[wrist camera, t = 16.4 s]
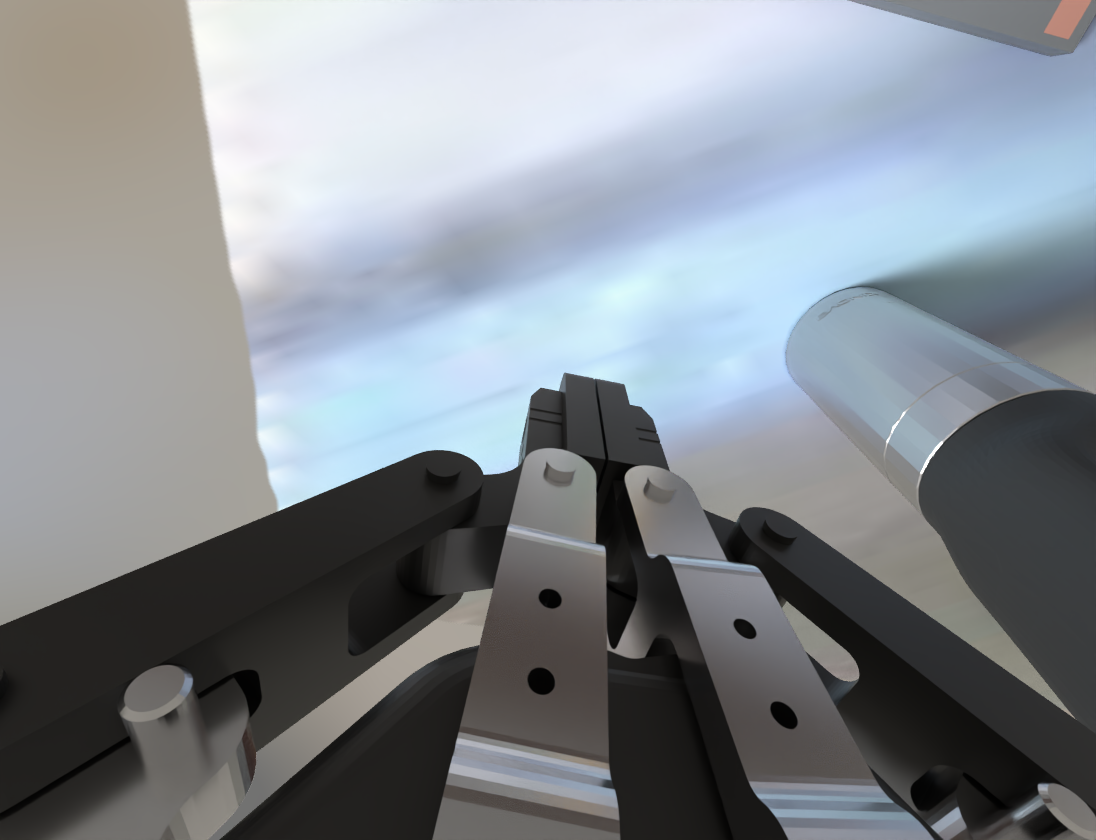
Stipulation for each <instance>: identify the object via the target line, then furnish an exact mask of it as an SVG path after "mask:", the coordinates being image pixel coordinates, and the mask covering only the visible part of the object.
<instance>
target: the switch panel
mask: <svg viewBox="0 0 1096 840" xmlns="http://www.w3.org/2000/svg"><path fill="white" fill-rule="evenodd" d="M849 1H853V2H856V3H860V4H863V5H867V6H871V7H874V8H878V9H881V10H885V11H889V12H892V13H896V14H899V15H903V16H907V17H910V18H914V19H917V20H921V21H925V22H928V23H932V24H935V25H939V26H943V27H946V28H950V29H954V30H957V31H961V32H964V33H968V34H972V35H975V36H979V37H982V38H986V39H990V40H993V41H997V42H1000V43H1004V44H1008V45H1011V46H1015V47H1018V48H1022V49H1026V50H1029V51H1033V52H1037V53H1040V54H1044V55H1047V56H1056V55H1063V54H1069V53H1073V51H1074V50H1075V48H1076V46H1077V45H1078V43H1079V41H1080V40H1081V38H1082V36H1083V35H1084V33H1085V31H1086V30H1087V28H1088V26H1089V25H1090V23H1091V21H1092V20H1093V18H1094V16H1095V15H1096V0H849Z"/></svg>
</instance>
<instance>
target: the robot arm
mask: <svg viewBox="0 0 1096 840" xmlns="http://www.w3.org/2000/svg"><path fill="white" fill-rule="evenodd" d="M786 365H787V368H788V371H789V374H790V375H791V377H792V378H793V380H794V381H795V383H796V384H797V385H798V386H799V387H800V388H801V389H802V390H803V391H804V392H805V393H806V394H807V395H808V396H809V397H810V398H811V399H812V400H813V401H814V403H815V404H816V405H817V406H818V407H819V408H820V409H821V410H822V411H823V412H824V413H825V414H826V415H827V416H828V417H829V419H830V420H831V421H832V422H833V423H834V424H835V425H836V426H837V427H838V428H839V429H840V430H841V431H842V432H843V433H844V434H845V435H846V436H847V437H848V439H849V440H850V441H851V442H852V443H853V444H854V445H855V446H856V447H857V448H858V449H859V450H860V451H861V452H862V453H863V454H864V455H865V456H866V458H867V459H868V460H869V461H870V462H871V463H872V464H873V465H874V466H875V467H876V468H877V469H878V470H879V471H880V472H881V473H882V474H883V475H884V476H885V478H886V479H887V480H888V481H889V482H890V483H891V484H892V485H893V486H894V487H895V488H896V489H897V490H898V491H899V492H900V493H901V494H902V495H903V496H904V497H905V498H906V499H907V500H908V501H909V502H910V503H911V505H912V506H913V507H914V508H915V509H916V510H917V511H918V512H919V513H920V514H921V515H922V516H923V517H924V518H925V519H926V520H927V522H928V523H929V524H930V525H931V526H932V527H933V528H934V529H935V530H936V531H937V533H938V534H939V535H940V536H941V538H942V540H943V541H944V543H945V545H946V547H947V549H948V551H949V553H950V555H951V557H952V559H953V561H954V563H955V565H956V567H957V569H958V570H959V572H960V574H961V576H962V577H963V579H964V580H965V582H966V583H967V585H968V586H969V588H970V589H971V591H972V592H973V593H974V594H975V596H976V597H977V598H978V599H979V600H980V602H981V603H982V604H983V605H984V606H985V608H986V609H987V610H988V611H989V613H990V614H991V615H992V616H993V617H994V619H995V620H996V621H997V622H998V623H999V625H1000V626H1001V627H1002V628H1003V630H1004V631H1005V632H1006V633H1007V634H1008V636H1009V637H1010V638H1011V639H1012V641H1013V642H1014V643H1015V644H1016V646H1017V647H1018V648H1019V649H1020V650H1021V652H1022V653H1023V654H1024V655H1025V657H1026V658H1027V659H1028V660H1029V662H1030V663H1031V664H1032V665H1033V667H1034V668H1035V669H1036V670H1037V672H1038V673H1039V674H1040V675H1041V677H1042V678H1043V679H1044V680H1045V682H1046V683H1047V684H1048V685H1049V687H1050V688H1051V689H1052V690H1053V692H1054V693H1055V694H1056V695H1057V697H1058V698H1059V699H1060V700H1061V702H1062V703H1063V704H1064V705H1065V707H1066V708H1067V709H1068V710H1069V712H1070V713H1071V714H1072V715H1073V716H1074V717H1075V719H1074V718H1073V717H1071V716H1070V715H1068V714H1067V713H1066V712H1064V711H1063V710H1061V709H1060V708H1059V707H1057V706H1056V705H1054V704H1053V703H1052V702H1050V701H1049V700H1047V699H1046V698H1045V697H1043V696H1042V695H1040V694H1039V693H1037V692H1036V691H1035V690H1033V689H1032V688H1030V687H1029V686H1028V685H1026V684H1025V683H1023V682H1022V681H1020V680H1019V679H1018V678H1016V677H1015V676H1013V675H1012V674H1011V673H1009V672H1008V671H1006V670H1005V669H1003V668H1002V667H1001V666H999V665H998V664H996V663H995V662H994V661H992V660H991V659H989V658H988V657H986V656H985V655H984V654H982V653H981V652H979V651H978V650H977V649H975V648H974V647H972V646H971V645H969V644H968V643H967V642H965V641H964V640H962V639H961V638H960V637H958V636H957V635H955V634H954V633H952V632H951V631H950V630H948V629H947V628H945V627H944V626H943V625H941V624H940V623H938V622H937V621H936V620H934V619H933V618H931V617H930V616H928V615H927V614H926V613H924V612H923V611H921V610H920V609H919V608H917V607H916V606H914V605H913V604H911V603H910V602H909V601H907V600H906V599H904V598H903V597H902V596H900V595H899V594H897V593H896V592H894V591H893V590H892V589H890V588H889V587H887V586H886V585H885V584H883V583H882V582H880V581H879V580H877V579H876V578H875V577H873V576H872V575H870V574H869V573H868V572H866V571H865V570H863V569H862V568H860V567H859V566H858V565H856V564H855V563H853V562H852V561H851V560H849V559H848V558H846V557H845V556H843V555H842V554H841V553H839V552H838V551H836V550H835V549H834V548H832V547H831V546H829V545H828V544H827V543H825V542H824V541H822V540H821V539H819V538H818V537H817V536H815V535H814V534H812V533H811V532H810V531H808V530H807V529H805V528H804V527H802V526H801V525H800V524H798V523H797V522H795V521H794V520H792V519H791V518H789V517H787V516H785V515H783V514H781V513H779V512H776V511H773V510H770V509H766V508H760V507H753V508H748V509H745V510H744V511H742V513H741V514H740V516H739V518H738V520H737V522H733V521H731V520H728V519H725V518H723V517H720V516H718V515H715V514H713V513H710V512H708V511H706V510H703V509H702V507H701V505H700V503H699V501H698V499H697V497H696V495H695V493H694V491H693V489H692V488H691V486H690V485H689V484H688V483H687V482H686V481H685V480H683V479H682V478H681V477H679V476H678V475H676V474H674V473H672V472H670V470H669V467H668V464H667V461H666V458H665V455H664V452H663V449H662V446H661V444H660V440H659V437H658V434H656V432H657V431H656V428H655V425H654V422H653V419H652V418H651V417H650V416H649V415H648V414H647V413H646V412H645V411H644V410H643V409H642V407H638V406H633V405H630V404H629V400H628V396H627V392H626V389H625V385H624V384H620V383H615V382H610V381H605V380H600V379H593V378H589V377H584V376H579V375H574V374H569V373H564V375H563V378H562V381H561V385H560V389H559V391H555V390H550V389H544V388H540V389H539V390H538V391H536V392H535V393H534V394H533V395H532V396H531V399H530V404H529V409H528V413H527V418H526V423H525V428H524V432H523V437H522V442H521V446H520V454H519V462H518V467H516V468H515V469H513V470H511V471H508V472H505V473H501V474H492V475H483V472H482V470H481V468H480V467H479V465H478V464H477V463H476V462H474V461H473V460H472V459H470V458H469V457H467V456H464V455H462V454H459V453H456V452H452V451H444V450H433V451H426V452H422V453H419V454H416V455H414V456H411V457H409V458H406V459H404V460H402V461H399V462H397V463H394V464H392V465H389V466H387V467H385V468H382V469H380V470H377V471H375V472H372V473H370V474H368V475H365V476H363V477H360V478H358V479H355V480H353V481H351V482H348V483H346V484H343V485H341V486H338V487H336V488H334V489H331V490H329V491H326V492H324V493H321V494H319V495H317V496H314V497H312V498H309V499H307V500H304V501H302V502H300V503H297V504H295V505H292V506H290V507H287V508H285V509H283V510H280V511H278V512H275V513H273V514H270V515H268V516H266V517H263V518H261V519H258V520H256V521H253V522H251V523H249V524H246V525H244V526H241V527H239V528H237V529H234V530H232V531H229V532H227V533H224V534H222V535H220V536H217V537H215V538H212V539H210V540H207V541H205V542H203V543H200V544H198V545H195V546H193V547H191V548H188V549H186V550H183V551H181V552H178V553H176V554H173V555H171V556H169V557H166V558H164V559H161V560H159V561H156V562H154V563H152V564H149V565H147V566H144V567H142V568H139V569H137V570H135V571H132V572H130V573H127V574H125V575H123V576H120V577H118V578H116V579H113V580H110V581H108V582H105V583H103V584H101V585H98V586H96V587H93V588H91V589H89V590H86V591H84V592H81V593H79V594H76V595H74V596H71V597H69V598H67V599H64V600H62V601H60V602H57V603H54V604H52V605H50V606H47V607H45V608H42V609H40V610H38V611H35V612H33V613H30V614H28V615H25V616H23V617H20V618H18V619H16V620H13V621H11V622H8V623H6V624H3V625H1V626H0V840H208V839H209V838H210V837H211V836H212V835H213V834H214V833H215V832H216V831H217V830H218V829H219V828H220V827H221V826H222V825H223V824H224V823H225V822H226V821H227V820H228V819H229V818H230V817H231V816H232V815H233V813H234V812H235V811H236V810H237V808H238V807H239V806H240V804H241V803H242V801H243V799H244V798H245V796H246V794H247V792H248V790H249V788H250V786H251V784H252V781H253V778H254V774H255V769H256V752H257V751H258V750H259V749H261V748H263V747H264V746H265V745H266V744H268V743H269V742H271V741H272V740H273V739H274V738H276V737H277V736H279V735H280V734H281V733H283V732H284V731H285V730H287V729H288V728H289V727H291V726H292V725H293V724H295V723H296V722H298V721H299V720H300V719H301V718H303V717H304V716H306V715H307V714H308V713H310V712H311V711H312V710H314V709H315V708H317V707H318V706H319V705H321V704H322V703H323V702H325V701H326V700H327V699H329V698H330V697H331V696H333V695H334V694H335V693H337V692H338V691H340V690H341V689H342V688H344V687H345V686H346V685H348V684H349V683H350V682H352V681H353V680H354V679H356V678H357V677H358V676H360V675H361V674H363V673H364V672H365V671H367V670H368V669H369V668H370V667H372V666H373V665H375V664H376V663H377V662H379V661H380V660H381V659H383V658H384V657H385V656H387V655H388V654H390V653H391V652H392V651H394V650H395V649H396V648H398V647H399V646H400V645H402V644H403V643H404V642H406V641H407V640H408V639H410V638H411V637H412V636H414V635H415V634H417V633H418V632H419V631H421V630H422V629H423V628H425V627H426V626H427V625H429V624H430V623H431V622H432V621H434V620H436V619H437V618H438V617H440V616H441V615H442V614H444V613H445V612H446V611H448V610H449V609H450V608H452V607H453V606H454V605H455V604H456V603H458V601H459V600H460V599H461V597H462V595H463V592H468V591H476V590H483V589H491V588H493V591H492V595H491V599H490V603H489V608H488V612H487V616H486V620H485V624H484V628H483V633H482V637H481V641H480V645H478V646H474V647H469V648H466V649H461V650H459V651H456V652H453V653H450V654H447V655H445V656H442V657H440V658H438V659H436V660H434V661H432V662H430V663H428V664H427V665H425V666H424V667H422V668H421V669H419V670H418V671H416V672H415V673H413V674H412V675H410V676H409V677H408V678H407V679H405V680H404V681H403V682H402V683H400V684H399V685H398V686H397V687H396V688H395V689H394V690H392V691H391V692H390V693H389V694H388V695H387V696H386V697H384V698H383V699H382V700H381V701H380V702H378V703H377V704H376V705H375V706H374V707H373V708H372V709H370V710H369V711H368V712H367V713H366V714H365V715H363V716H362V717H361V718H360V719H359V720H358V721H357V722H355V723H354V724H353V725H352V726H351V727H350V728H348V729H347V730H346V731H345V732H344V733H343V734H341V735H340V736H339V737H338V738H337V739H336V740H334V741H333V742H332V743H331V744H330V745H329V746H328V747H326V748H325V749H324V750H323V751H322V752H321V753H320V754H318V755H317V756H316V757H315V758H314V759H312V760H311V761H310V762H309V763H308V764H307V765H306V766H305V767H303V768H302V769H301V770H300V771H299V772H297V773H296V774H295V775H294V776H293V777H292V778H290V779H289V780H288V781H287V782H286V783H285V784H283V785H282V786H281V787H280V788H279V789H278V790H277V791H275V792H274V793H273V794H272V795H271V796H270V797H268V798H267V799H266V800H265V801H264V802H263V803H262V804H261V805H259V806H258V807H257V808H256V809H254V810H253V811H252V812H251V813H250V814H249V815H248V816H246V817H245V818H244V819H243V820H242V821H241V822H239V823H238V824H237V825H236V826H235V827H234V828H233V829H232V830H230V831H229V832H228V833H227V834H226V835H224V836H223V837H222V838H221V839H220V840H1096V394H1094V393H1092V392H1090V391H1088V390H1086V389H1084V388H1082V387H1080V386H1078V385H1075V384H1073V383H1071V382H1069V381H1067V380H1065V379H1063V378H1061V377H1059V376H1057V375H1055V374H1053V373H1051V372H1049V371H1046V370H1044V369H1042V368H1040V367H1038V366H1036V365H1034V364H1032V363H1030V362H1028V361H1026V360H1024V359H1022V358H1020V357H1018V356H1015V355H1013V354H1011V353H1009V352H1007V351H1005V350H1003V349H1001V348H999V347H997V346H995V345H993V344H991V343H989V342H987V341H985V340H983V339H981V338H979V337H977V336H975V335H973V334H970V333H968V332H966V331H964V330H962V329H960V328H958V327H956V326H954V325H952V324H950V323H948V322H946V321H944V320H942V319H940V318H938V317H936V316H934V315H932V314H930V313H928V312H925V311H923V310H921V309H919V308H918V307H916V306H914V305H911V304H909V303H907V302H905V301H903V300H901V299H899V298H897V297H895V296H893V295H891V294H889V293H887V292H885V291H882V290H879V289H875V288H868V287H857V288H850V289H845V290H842V291H839V292H836V293H833V294H831V295H830V296H828V297H826V298H824V299H822V300H820V301H819V302H818V303H816V304H815V305H814V306H813V307H811V308H810V309H809V310H808V311H807V312H806V313H805V314H804V315H803V316H802V317H801V318H800V320H799V321H798V323H797V324H796V326H795V327H794V329H793V330H792V333H791V335H790V337H789V340H788V343H787V348H786ZM786 601H787V602H789V603H790V604H791V605H792V606H794V607H795V608H796V609H797V610H798V611H800V612H801V613H802V614H803V615H804V616H806V617H807V618H808V619H809V620H810V621H812V622H813V623H814V624H815V625H816V626H818V627H819V628H820V629H821V630H823V631H824V632H825V633H826V634H827V635H829V636H830V637H831V638H832V639H833V640H835V641H836V642H837V643H838V644H839V645H841V646H842V647H843V648H844V649H845V650H847V651H848V652H849V653H850V654H851V656H852V657H853V658H854V660H855V661H856V663H857V665H858V668H859V679H858V680H856V681H852V682H848V681H843V680H840V679H838V678H836V677H835V676H833V675H832V674H831V673H830V672H828V671H827V670H826V669H825V668H824V667H823V666H822V665H820V664H819V663H818V662H817V661H816V660H815V659H814V658H812V657H811V656H810V655H809V654H808V653H807V652H806V651H805V650H804V648H803V646H802V644H801V642H800V641H799V639H798V637H797V635H796V633H795V632H794V630H793V628H792V626H791V624H790V622H789V621H788V619H787V617H786V615H785V613H784V611H783V610H782V607H783V606H784V604H785V603H786Z"/></svg>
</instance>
